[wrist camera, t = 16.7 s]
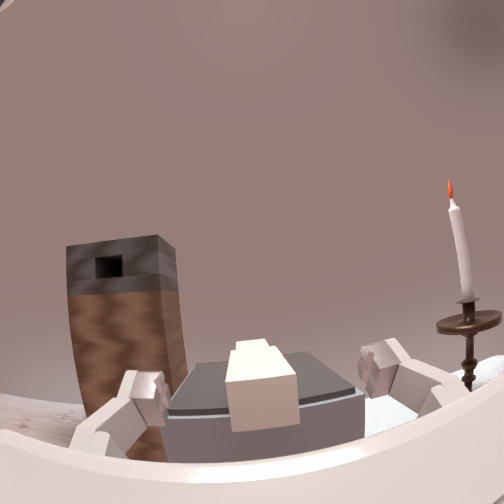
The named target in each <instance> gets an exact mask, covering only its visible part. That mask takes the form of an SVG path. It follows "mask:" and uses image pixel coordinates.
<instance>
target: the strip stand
mask: <svg viewBox="0 0 504 504" xmlns="http://www.w3.org/2000/svg"><path fill="white" fill-rule="evenodd" d="M66 268H67V269H66V270H67V271H66V273H67V297H68V311H69V322H70V331H71V339H72V347H73V354H74V360H75V366H76V372H77V377H78V382H79V387H80V391H81V396H82V400H83V404H84V408H85V412H86V416H87V418H88V417H90V416H91V415H92V414H93V413H95V412H96V411H97V410H98V409H100V408H101V407H102V406H104V405H105V404H106V403H107V402H109V401H110V400H111V399H112V398H117V395H118V392H119V389H120V386H121V383H122V380H123V377H124V375H125V372H126V371H127V370H137V371H138V370H149V371H162V372H163V374H164V376H165V380H164V382H165V383H166V384H168V387H169V390H170V396H171V398H172V397H173V395H174V394H175V392H176V391H177V390H178V388H179V387H180V385H181V384H182V383H183V381H184V380H185V378H186V377H187V375H188V371H187V364H186V356H185V349H184V341H183V333H182V324H181V314H180V305H179V294H178V282H177V269H176V254H175V248H174V247H172V246H171V245H170V244H168V243H167V242H166V241H165V240H164V239H162V238H161V237H160V236H159V235H151V236H141V237H134V238H126V239H118V240H110V241H102V242H95V243H88V244H80V245H73V246H67V247H66ZM125 455H126V456H127V457H128V458H129V459H130V460H139V461H150V462H165V463H168V460H167V456H166V453H165V449H164V445H163V441H162V437H161V433H160V429H159V426H147V429H146V430H145V431H144V432H143V433H142V434H141V436H140V437H139V438H138V439H137V440H136V441H135V443H134V444H133V445H132V446H131V447H130V448H129V450H128V451H127V452H126V453H125Z"/></svg>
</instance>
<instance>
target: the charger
mask: <svg viewBox="0 0 504 504" xmlns="http://www.w3.org/2000/svg"><path fill="white" fill-rule="evenodd" d="M225 385H226V392H227V399H228V406H229V413H230V420H231V426H232V432H240V431H251V430H260V429H269V428H276V427H283V426H290V425H296V424H300V414H299V401H298V388H297V377H296V373H295V371H294V370H293V369H292V367H291V366H290V365H289V363H288V362H287V361H286V359H285V358H284V357H283V355H282V354H281V353H280V352H279V350H278V349H277V348H276V346H270V347H269V345H268V344H267V342H266V340H265V339H257V340H248V341H238V342H236V350H233V351H231V353H230V359H229V364H228V369H227V375H226V380H225Z"/></svg>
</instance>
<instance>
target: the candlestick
mask: <svg viewBox="0 0 504 504" xmlns="http://www.w3.org/2000/svg"><path fill="white" fill-rule="evenodd" d="M448 188H449V190H448V196H449V198H452V197H453V195H452V194H453V191H452V186H451V183H450V180H449V183H448ZM449 215H450V219H451V224H452V228H453V233H454V239H455V244H456V250H457V256H458V263H459V270H460V278H461V288H462V297H463V298H462V299H463V300H462V301H459V302H457V303H461V304H462V307H463V314H459V315H455V316H451V317H448V318H445V319H442V320H440V321H438V322H437V324H436V326H437V332H438V333H440V334H444V335H462V336H464V337H466V359H465V360H464V361H463V362H462V364H461V366H462V369H463V370H465V374H464V376H463V377H462V382H464V385H465V387H466V388H467V389H468V390H469V392H472V381H474V380H475V379H476V376H475V375H473V372H474V369H475V368H476V366H477V364H478V361H477V360H476V359H475V358H474V335H476V334H478V332H480V331H484V330H487V329H490V328H493V327H495V326H497V325H499V324H500V323H501V321H502V313H501V312H500V311H494V310H488V311H487V310H485V311H476V312H475V301H477V300H479V299H480V298H474V294H473V283H472V275H471V267H470V260H469V253H468V247H467V242H466V236H465V231H464V226H463V221H462V218H461V212H460V208H459V207H457V206H456V205H455V203H454V200H453V199H450V209H449Z"/></svg>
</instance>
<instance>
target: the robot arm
mask: <svg viewBox="0 0 504 504" xmlns="http://www.w3.org/2000/svg"><path fill="white" fill-rule="evenodd" d="M13 1H14V0H0V12H1V11H2V10H3V9H5V8H6V7H7V6H8V5H10V4H11V3H12V2H13ZM360 354H361V356H362V357H361V358H360V360H359V361H358V366H357V367H358V374H359V377H360V379H361V381H362V382H364V383H366V390H367V392H368V394H369V396H370V398H371V399H373V398H377V397H380V396H384V395H387V394H389V396H391V397H392V398H394V399H395V400H397V401H399V402H400V403H402V404H403V405H405V406H406V407H408V408H409V409H411V410H413V411H414V412H416V413H417V414H418V416H417V418H416V419H415V420H412V421H410V422H407V423H405V424H402V425H400V426H397V427H395V428H392V429H389V430H386V431H383V432H380V433H377V434H374V435H371V436H368V437H365V438H362V439H359V440H355V441H352V442H348V443H344V444H341V445H337V446H333V447H329V448H324V449H320V450H315V451H311V452H306V453H300V454H295V455H289V456H283V457H276V458H269V459H260V460H251V461H240V462H225V463H165V462H150V461H139V460H130V459H129V458H128V457H127V456H126V455H125V453H126V452H127V451H128V450H129V448H130V447H131V446H132V445H133V444H134V443H135V441H136V440H137V439H138V438H139V437H140V436H141V434H142V433H143V432H144V431H145V430H146V429H147V426H167V423H168V416H169V413H168V411H167V408H168V407H169V406H170V402H171V396H170V390H169V387H168V384H166V383H165V382H164V380H165V376H164V374H163V372H162V371H149V370H138V371H137V370H127V371H126V372H125V375H124V377H123V380H122V383H121V386H120V389H119V392H118V395H117V398H112V399H111V400H110V401H109V402H107V403H106V404H105V405H104V406H102V407H101V408H100V409H98V410H97V411H96V412H95V413H93V414H92V415H91V416H90V417H88V418H87V419H86V420H84V421H83V422H82V423H81V424H79V425H78V426H77V427H76V430H75V432H74V435H73V438H72V440H71V443H70V446H69V448H65V447H61V446H57V445H54V444H50V443H47V442H43V441H40V440H37V439H34V438H31V437H28V436H25V435H22V434H20V433H17V432H14V431H12V430H9V429H1V430H0V504H504V372H503V373H501V374H500V375H498V376H497V377H495V378H494V379H492V380H490V381H489V382H487V383H486V384H484V385H482V386H481V387H479V388H477V389H476V390H474V391H472V392H469V390H468V389H467V388H466V387H465V385H464V384H463V383H462V382H461V381H460V379H459V378H458V377H457V376H456V375H453V374H450V373H448V372H445V371H443V370H440V369H438V368H436V367H433V366H431V365H428V364H426V363H423V362H421V361H418V360H416V359H413V360H412V359H411V358H410V356H409V355H408V354H407V353H406V351H405V350H404V349H403V348H402V346H401V345H400V344H399V343H398V341H397V340H396V339H395V338H391V339H387V340H383V341H380V342H376V343H372V344H368V345H364V346H362V348H361V351H360Z"/></svg>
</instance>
